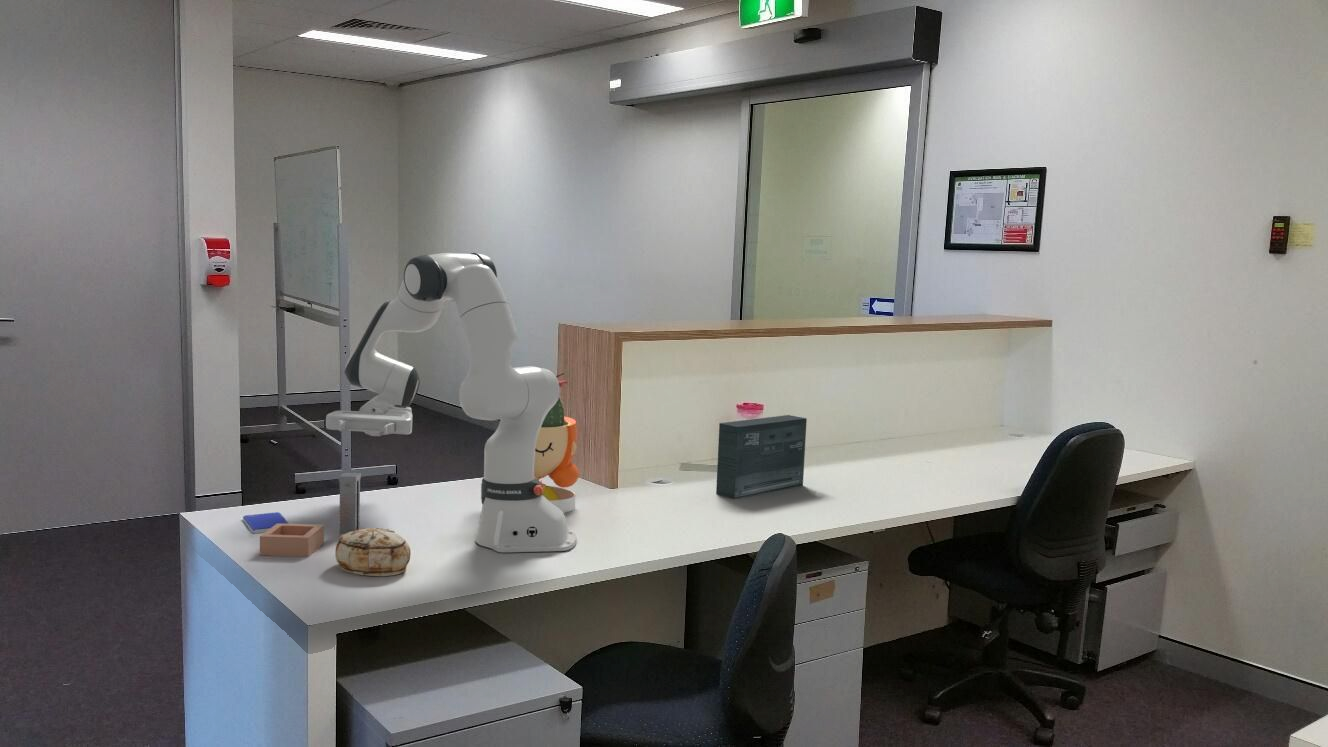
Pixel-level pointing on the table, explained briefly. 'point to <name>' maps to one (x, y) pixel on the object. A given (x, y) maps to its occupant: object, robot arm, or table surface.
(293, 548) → the holder
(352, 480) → the grey chimney stack
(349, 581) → the table surface
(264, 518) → the hard drive
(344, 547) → the trinket box
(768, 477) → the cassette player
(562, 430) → the potted cactus
